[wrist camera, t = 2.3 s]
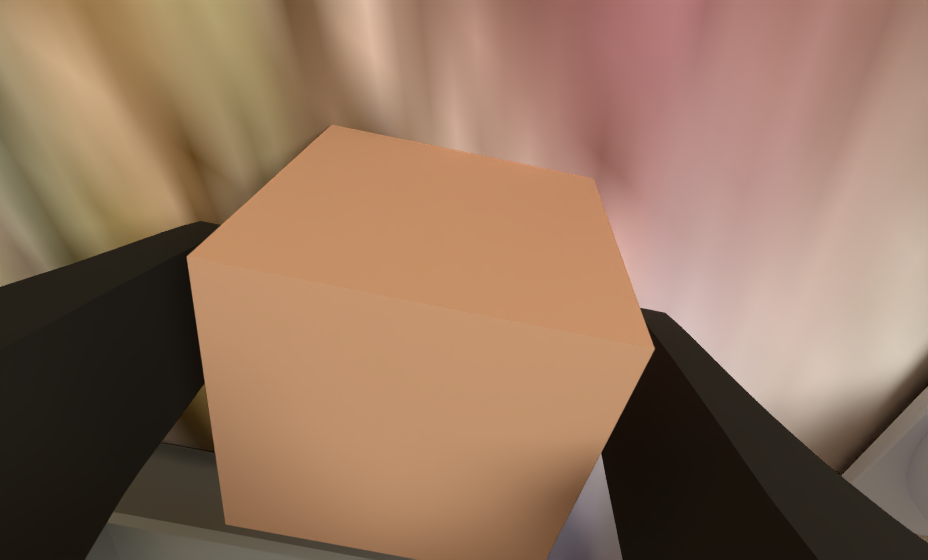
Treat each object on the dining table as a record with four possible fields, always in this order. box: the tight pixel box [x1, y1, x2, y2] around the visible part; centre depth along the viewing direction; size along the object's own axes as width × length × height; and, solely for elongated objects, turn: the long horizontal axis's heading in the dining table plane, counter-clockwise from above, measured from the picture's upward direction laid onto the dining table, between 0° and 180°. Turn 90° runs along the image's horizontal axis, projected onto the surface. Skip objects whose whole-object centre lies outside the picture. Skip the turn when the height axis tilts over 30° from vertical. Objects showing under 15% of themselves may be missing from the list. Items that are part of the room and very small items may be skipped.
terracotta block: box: [187, 125, 655, 560], centre depth 9 cm, size 5×5×5 cm
